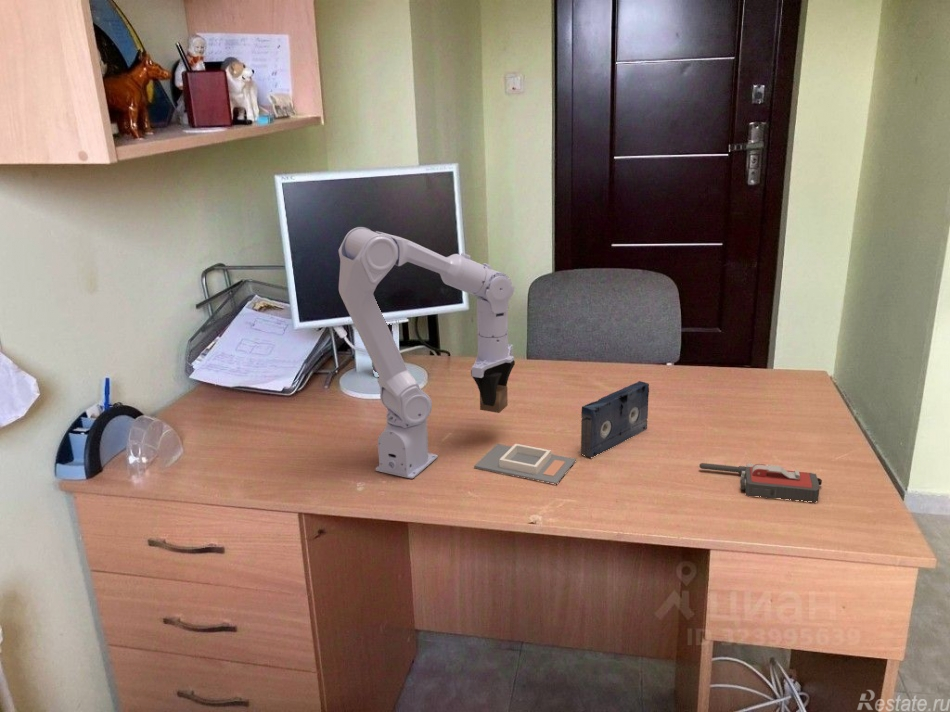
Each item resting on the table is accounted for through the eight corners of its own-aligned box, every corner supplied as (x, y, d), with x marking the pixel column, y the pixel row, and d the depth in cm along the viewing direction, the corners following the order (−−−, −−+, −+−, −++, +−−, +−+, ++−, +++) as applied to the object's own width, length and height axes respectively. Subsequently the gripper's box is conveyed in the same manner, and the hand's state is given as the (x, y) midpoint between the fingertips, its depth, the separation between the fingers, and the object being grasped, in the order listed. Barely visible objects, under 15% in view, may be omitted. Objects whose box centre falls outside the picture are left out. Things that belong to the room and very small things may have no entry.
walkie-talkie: (818, 481, 135) (698, 469, 140) (822, 458, 133) (700, 447, 139) (825, 507, 127) (698, 493, 132) (829, 483, 126) (700, 469, 131)
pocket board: (556, 485, 135) (556, 475, 135) (474, 468, 142) (474, 458, 141) (576, 461, 144) (576, 451, 143) (497, 446, 150) (497, 436, 150)
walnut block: (499, 413, 148) (498, 393, 147) (480, 409, 150) (479, 390, 149) (507, 405, 152) (507, 386, 150) (488, 402, 153) (488, 383, 152)
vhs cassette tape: (637, 426, 158) (639, 380, 155) (649, 430, 156) (652, 383, 153) (578, 454, 146) (579, 405, 143) (590, 460, 144) (591, 410, 141)
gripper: (496, 347, 138) (497, 417, 143) (527, 324, 150) (527, 390, 155) (460, 342, 141) (462, 411, 145) (493, 321, 153) (494, 385, 158)
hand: (493, 400), depth 150 cm, fingers closed on walnut block, 4 cm apart
